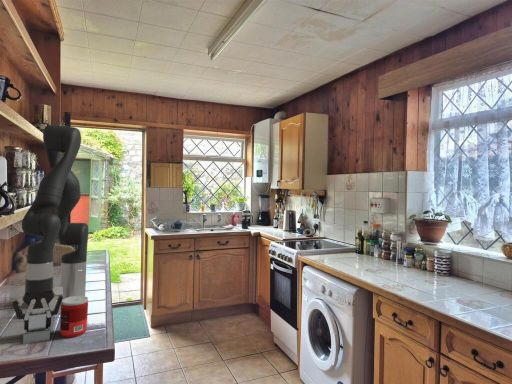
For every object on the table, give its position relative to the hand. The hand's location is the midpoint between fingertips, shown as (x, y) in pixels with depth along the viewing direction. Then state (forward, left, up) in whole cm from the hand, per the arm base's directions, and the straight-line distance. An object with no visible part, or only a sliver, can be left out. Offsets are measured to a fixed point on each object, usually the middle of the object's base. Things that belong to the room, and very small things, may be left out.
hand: (37, 329), depth 107 cm
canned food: (+2, +10, -2) cm, 11 cm away
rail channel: (0, 0, -2) cm, 2 cm away
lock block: (0, 0, -1) cm, 1 cm away
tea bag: (-20, +3, -2) cm, 20 cm away
